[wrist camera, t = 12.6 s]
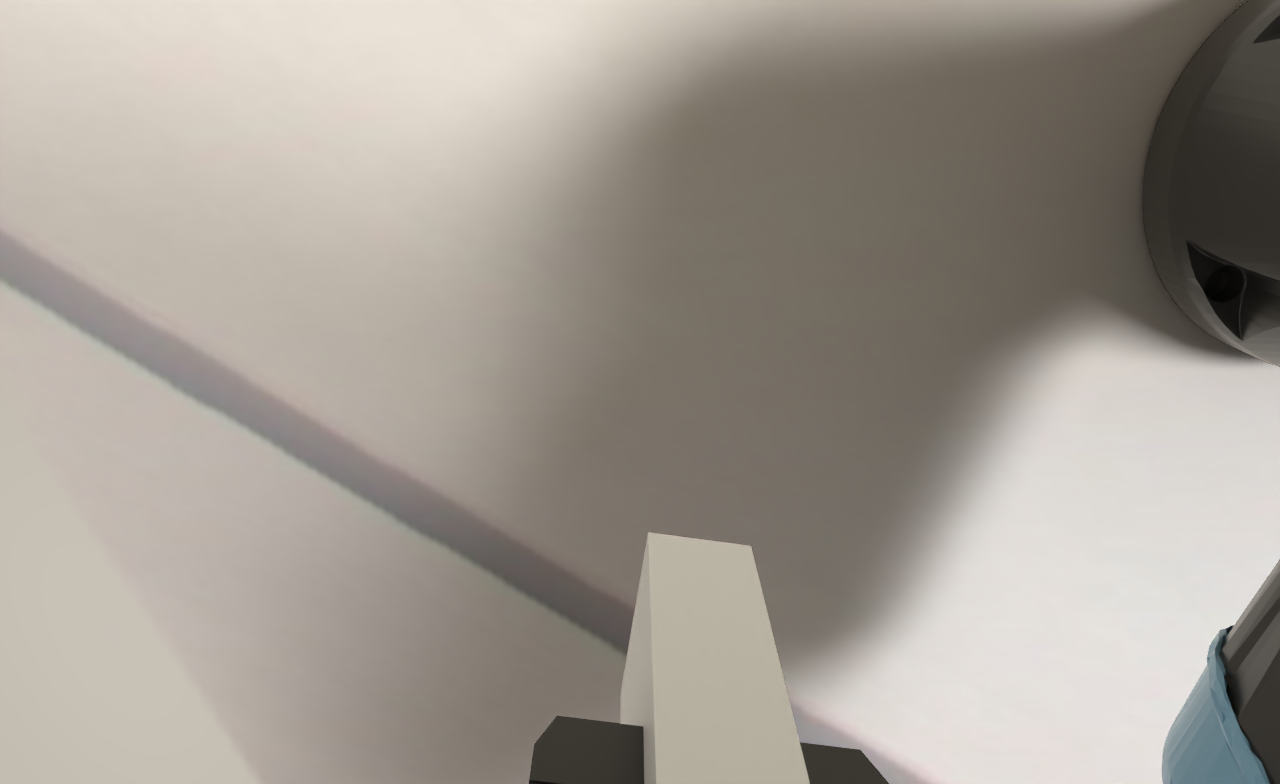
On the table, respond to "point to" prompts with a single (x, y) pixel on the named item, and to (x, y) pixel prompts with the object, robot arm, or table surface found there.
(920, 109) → the table surface
